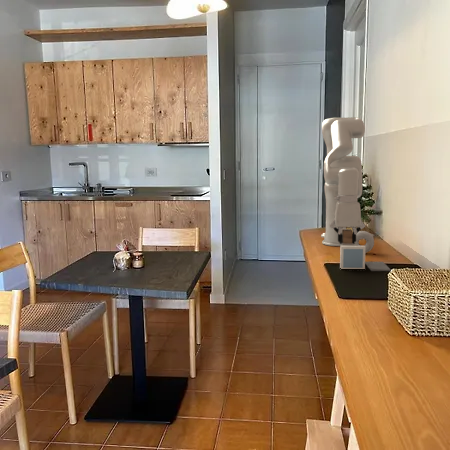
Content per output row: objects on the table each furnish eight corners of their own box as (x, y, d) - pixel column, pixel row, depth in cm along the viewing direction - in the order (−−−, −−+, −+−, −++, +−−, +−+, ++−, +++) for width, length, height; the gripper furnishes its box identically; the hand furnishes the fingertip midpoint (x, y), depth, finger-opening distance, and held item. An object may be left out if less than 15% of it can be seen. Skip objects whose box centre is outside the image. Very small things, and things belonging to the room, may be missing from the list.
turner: (340, 243, 188) (340, 229, 187) (351, 243, 188) (351, 229, 187) (344, 248, 178) (344, 233, 177) (355, 248, 178) (356, 233, 177)
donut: (350, 253, 198) (351, 231, 197) (350, 252, 202) (350, 230, 200) (374, 254, 197) (375, 231, 195) (373, 252, 200) (374, 230, 198)
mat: (364, 263, 182) (364, 261, 182) (382, 263, 181) (382, 261, 181) (371, 270, 170) (371, 269, 170) (390, 271, 169) (390, 269, 169)
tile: (339, 268, 175) (340, 245, 174) (363, 268, 174) (364, 245, 173) (340, 269, 173) (341, 246, 171) (364, 269, 172) (365, 246, 170)
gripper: (327, 200, 180) (327, 245, 183) (371, 200, 178) (369, 245, 181) (325, 198, 188) (324, 241, 190) (367, 198, 186) (365, 241, 189)
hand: (346, 242), depth 186 cm, fingers closed on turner, 4 cm apart
